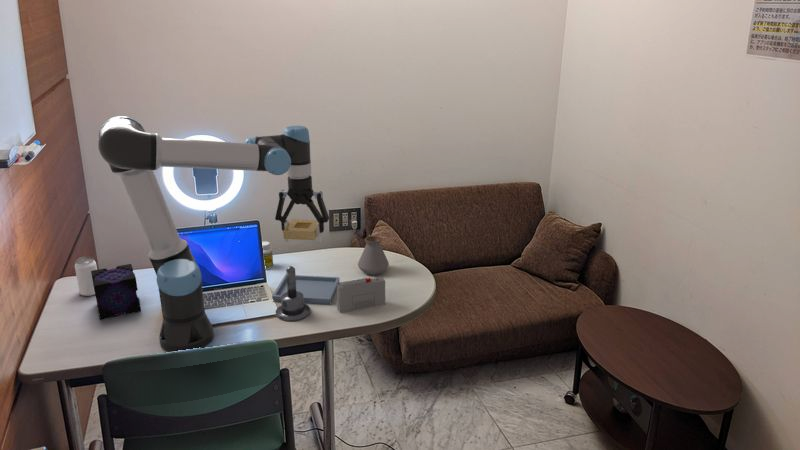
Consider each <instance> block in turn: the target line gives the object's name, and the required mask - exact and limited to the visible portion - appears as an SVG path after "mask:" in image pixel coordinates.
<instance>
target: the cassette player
mask: <svg viewBox="0 0 800 450" xmlns="http://www.w3.org/2000/svg"><path fill="white" fill-rule="evenodd" d="M340 282H341V281H340ZM336 300H337V301H336V302H337V310H338V312H339V313H340V314H341V313H346V312H352V311H358V310H363V309H369V308H373V307H378V306H384V305H386V280H385V279H384V277H383V276H381V277H375V278H371V277H366V278H365V277H364V278H358V279H353V280H348V281H347V280H346V281H342V282H341V283H339V284H338V285H337V290H336Z"/></svg>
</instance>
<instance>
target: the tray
mask: <svg viewBox="0 0 800 450" xmlns="http://www.w3.org/2000/svg"><path fill="white" fill-rule="evenodd" d="M338 284H340V277H339V276H322V275H321V276H319V275H317V276H316V275H303V274H302V275H301V274H296V291H298V292H301V293H302V294H303V299H304V304H311V305H313V304H314V305H329V306H330V305H332V304H331V303H332V302H333V299H334V296H335V294H336V293H337V285H338ZM286 292H287V275H286V274H284V276H283V278H282V280H281V281H280V282H279V284H278V285H277V287H276V289H275V290H274V292H273V294H272V295H271V298H272V299H273V300H274V301H275V302H277V303H281V296H282V294H284V293H286ZM272 299H271V300H272ZM274 301H273V302H274Z"/></svg>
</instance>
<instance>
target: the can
mask: <svg viewBox="0 0 800 450" xmlns="http://www.w3.org/2000/svg"><path fill="white" fill-rule="evenodd" d="M74 263H75V264H74V270H75V275H76V281H77V286H78V290H79V293H80V295H81V296H83V297H90V296H94V295H95V291H94V286H93V280H92V274H91V271H93V270H98V267H97V262H96V261H95V258H94V257H92V256H83V257H80V258H77V259H76V260H75V262H74Z"/></svg>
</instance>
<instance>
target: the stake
mask: <svg viewBox="0 0 800 450" xmlns="http://www.w3.org/2000/svg"><path fill="white" fill-rule="evenodd" d="M285 271H286V274H285V275H287V292H286V293H284V294H282V296H281V302H280V303H281V305H279V306H278V307H277V308H276V309H275V317H276V318H277V319H279V320H281V321H284V322H298V321H302V320H304V319H306V318H308V317H309V315H310V314H311V308H310V306H309V304H307V303H304V299H303V294H302V293H301V292H298V291H296V275H297V274H296V268H295V267H294V266H293V265H290V266H288V267H286V269H285Z"/></svg>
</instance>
